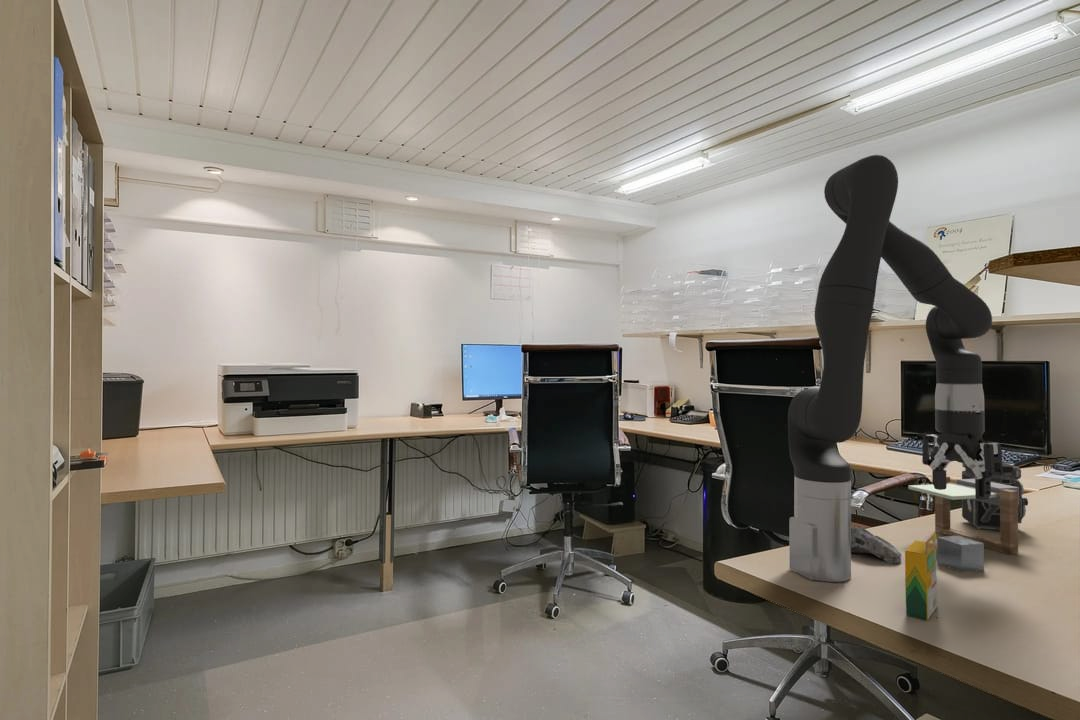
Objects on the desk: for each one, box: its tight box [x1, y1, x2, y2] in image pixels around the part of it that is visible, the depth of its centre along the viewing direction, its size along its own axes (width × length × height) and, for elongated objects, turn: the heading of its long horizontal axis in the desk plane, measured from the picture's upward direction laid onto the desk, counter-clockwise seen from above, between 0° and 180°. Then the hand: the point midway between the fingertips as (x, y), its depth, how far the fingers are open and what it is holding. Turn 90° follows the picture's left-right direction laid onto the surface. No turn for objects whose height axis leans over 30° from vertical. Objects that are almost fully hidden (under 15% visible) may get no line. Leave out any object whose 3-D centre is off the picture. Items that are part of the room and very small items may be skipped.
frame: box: [934, 475, 1019, 555], centre depth 124 cm, size 2×17×12 cm, turn 12°
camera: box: [961, 462, 1029, 531], centre depth 135 cm, size 10×10×15 cm
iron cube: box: [936, 535, 985, 573], centre depth 108 cm, size 5×5×5 cm
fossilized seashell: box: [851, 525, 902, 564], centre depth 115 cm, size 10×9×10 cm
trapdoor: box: [907, 478, 1019, 506], centre depth 123 cm, size 17×13×4 cm
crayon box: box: [904, 531, 938, 621], centre depth 89 cm, size 7×3×12 cm, turn 136°
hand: (960, 494), depth 108 cm, fingers open, 8 cm apart
